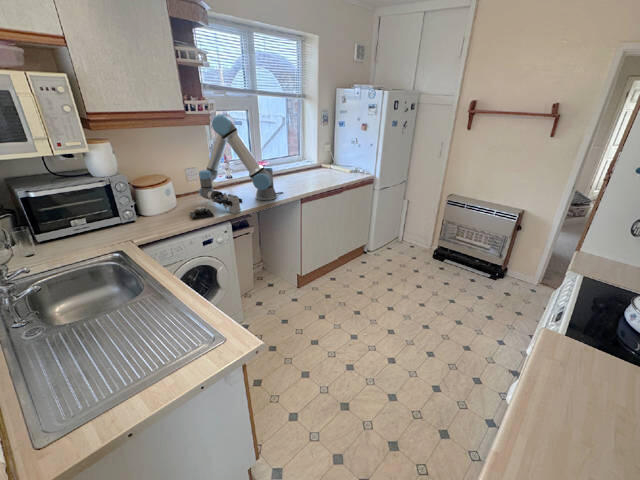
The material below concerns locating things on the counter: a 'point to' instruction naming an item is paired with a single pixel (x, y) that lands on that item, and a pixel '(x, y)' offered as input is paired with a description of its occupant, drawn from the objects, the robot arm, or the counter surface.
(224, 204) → the robot arm
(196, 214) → the hob panel
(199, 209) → the hob knob
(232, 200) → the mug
